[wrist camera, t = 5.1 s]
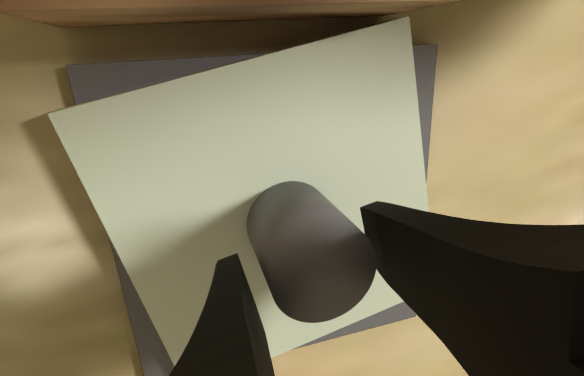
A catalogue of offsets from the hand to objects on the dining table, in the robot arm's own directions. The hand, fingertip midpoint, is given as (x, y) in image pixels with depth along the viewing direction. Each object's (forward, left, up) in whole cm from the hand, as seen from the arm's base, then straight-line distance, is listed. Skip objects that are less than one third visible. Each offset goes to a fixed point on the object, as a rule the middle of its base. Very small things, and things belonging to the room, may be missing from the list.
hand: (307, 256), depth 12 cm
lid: (0, 0, -2) cm, 3 cm away
